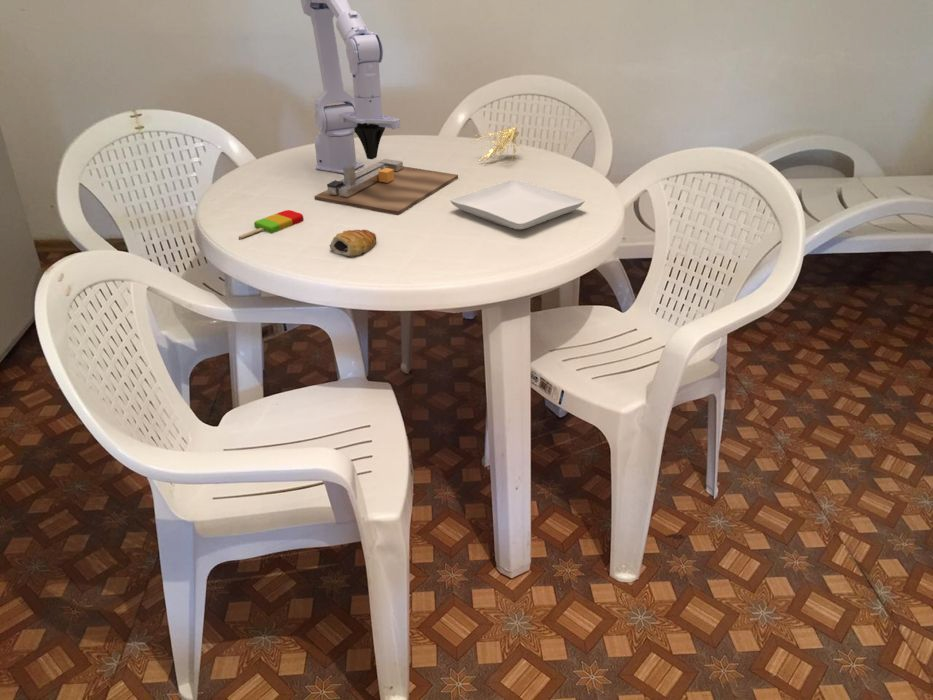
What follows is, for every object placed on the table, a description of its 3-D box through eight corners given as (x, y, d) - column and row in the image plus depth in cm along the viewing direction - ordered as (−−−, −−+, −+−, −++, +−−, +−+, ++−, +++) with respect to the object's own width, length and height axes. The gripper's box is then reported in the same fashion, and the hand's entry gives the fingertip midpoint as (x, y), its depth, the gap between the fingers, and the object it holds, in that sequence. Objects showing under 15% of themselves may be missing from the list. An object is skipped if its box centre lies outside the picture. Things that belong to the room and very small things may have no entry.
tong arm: (382, 173, 176) (380, 148, 172) (390, 174, 175) (388, 149, 172) (339, 195, 162) (336, 169, 159) (347, 197, 161) (345, 170, 158)
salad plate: (513, 190, 169) (513, 176, 167) (586, 213, 156) (587, 198, 154) (447, 213, 156) (447, 198, 155) (520, 240, 143) (521, 224, 142)
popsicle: (306, 222, 152) (305, 213, 151) (249, 245, 142) (247, 236, 141) (289, 216, 155) (287, 208, 154) (231, 238, 145) (229, 229, 144)
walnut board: (381, 166, 184) (381, 162, 184) (458, 178, 176) (458, 174, 175) (314, 199, 163) (314, 196, 163) (398, 215, 154) (398, 211, 154)
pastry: (359, 236, 145) (358, 218, 143) (385, 244, 142) (384, 226, 140) (327, 252, 138) (325, 234, 136) (354, 261, 135) (352, 242, 133)
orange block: (385, 177, 173) (385, 167, 171) (394, 179, 172) (393, 169, 171) (378, 181, 170) (378, 171, 169) (387, 182, 169) (386, 172, 168)
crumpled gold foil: (470, 169, 191) (460, 139, 184) (509, 138, 195) (500, 108, 189) (500, 179, 183) (490, 149, 177) (539, 147, 188) (531, 116, 182)
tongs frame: (385, 165, 181) (384, 156, 180) (402, 167, 179) (402, 159, 178) (328, 193, 163) (327, 184, 162) (347, 197, 161) (346, 187, 160)
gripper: (328, 95, 155) (334, 158, 162) (386, 102, 149) (389, 167, 156) (347, 89, 160) (352, 150, 167) (403, 95, 155) (406, 158, 162)
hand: (371, 158), depth 162 cm, fingers closed
